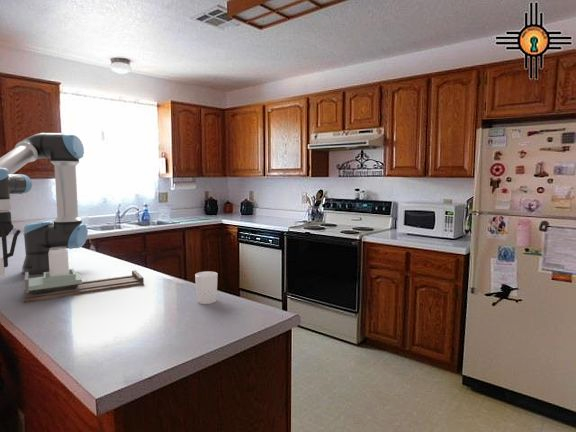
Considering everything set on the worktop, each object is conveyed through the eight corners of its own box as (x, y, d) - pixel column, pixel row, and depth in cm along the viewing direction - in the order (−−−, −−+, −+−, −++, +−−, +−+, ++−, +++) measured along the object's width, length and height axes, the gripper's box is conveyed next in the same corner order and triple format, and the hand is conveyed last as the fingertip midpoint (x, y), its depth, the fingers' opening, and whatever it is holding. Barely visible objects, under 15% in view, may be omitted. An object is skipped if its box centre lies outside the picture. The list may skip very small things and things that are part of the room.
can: (60, 281, 146) (58, 249, 145) (45, 280, 148) (43, 249, 146) (73, 276, 152) (71, 246, 151) (59, 275, 154) (57, 246, 153)
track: (25, 292, 151) (24, 284, 150) (135, 276, 173) (135, 270, 173) (24, 302, 138) (23, 294, 138) (143, 284, 160) (143, 277, 160)
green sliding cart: (26, 287, 150) (25, 272, 149) (78, 280, 160) (78, 266, 159) (25, 296, 139) (24, 279, 138) (82, 288, 149) (81, 272, 148)
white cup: (221, 299, 142) (221, 272, 141) (210, 305, 134) (210, 277, 133) (203, 296, 144) (202, 270, 143) (191, 303, 137) (190, 275, 136)
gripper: (20, 210, 144) (24, 272, 146) (-25, 211, 137) (-20, 276, 139) (19, 211, 138) (23, 276, 140) (-27, 212, 131) (-22, 281, 133)
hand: (2, 276), depth 140 cm, fingers closed
